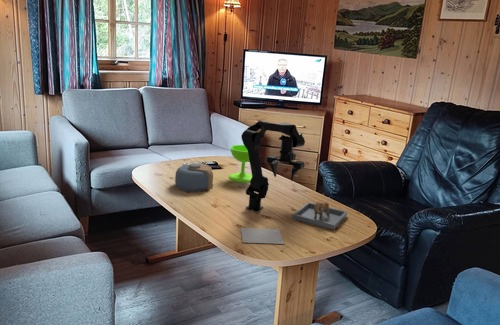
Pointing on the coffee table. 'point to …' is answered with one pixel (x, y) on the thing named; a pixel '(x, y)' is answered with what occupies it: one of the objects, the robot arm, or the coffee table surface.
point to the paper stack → (261, 235)
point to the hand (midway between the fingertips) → (283, 178)
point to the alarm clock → (194, 177)
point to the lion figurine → (321, 209)
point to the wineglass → (242, 156)
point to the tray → (328, 221)
